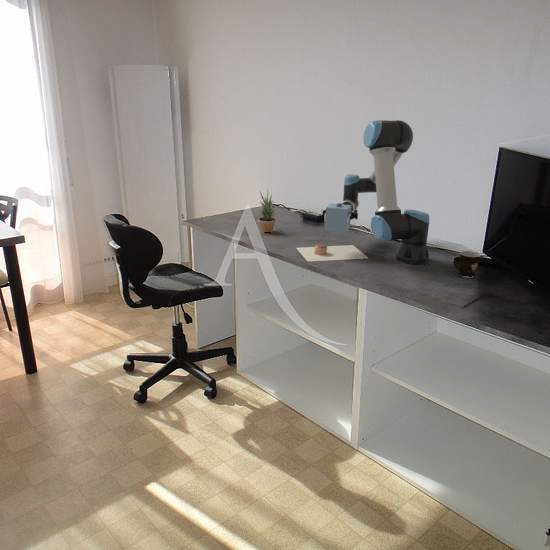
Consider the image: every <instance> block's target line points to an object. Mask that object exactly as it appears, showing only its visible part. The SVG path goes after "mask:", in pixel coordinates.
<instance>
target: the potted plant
mask: <svg viewBox="0 0 550 550" xmlns="http://www.w3.org/2000/svg"><path fill="white" fill-rule="evenodd" d="M266 191H267V193H266V196H263V194H262V192H261V191H259V194H260V196H261V200H262V201H261V200H260V204H261V206H262V208H260V209H258V210H259V212H260V213H261V215H262V217H258V219H257V220H258V223H259V226H260V230H261V233H263V232H271V233H272V232H273V230H274V227H275V224H276V218H275V217H274V215H275V206H276V204H274V205H273V202H274V201H273V200H272V196H273V194H272V193H271V194H270V197H269V188H267V190H266ZM261 209H262V210H261Z"/></svg>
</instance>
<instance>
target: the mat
mask: <svg viewBox="0 0 550 550" xmlns="http://www.w3.org/2000/svg"><path fill="white" fill-rule="evenodd" d="M326 246H327V245H326ZM295 248H296V250H297V251H298V253H300V255H302V257H303V258H304V259H305V260H306V262H323V261H342V260H344V261H345V260H363V259H369V257H368V256H367V255H366V254H365V253H363V252H362V251H361V250H360V249H358V248H357V247H356V246H355V245H353V244H352V245H351V244H350V245H329V246H327V254H326V255H316V254H314V249H315V246H308V247H307V246H304V247H295Z"/></svg>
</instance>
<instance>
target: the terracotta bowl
mask: <svg viewBox="0 0 550 550" xmlns="http://www.w3.org/2000/svg"><path fill="white" fill-rule="evenodd" d="M314 247H315V249H314V254H316V255H326V254H327V245H325V244H316V245H314Z"/></svg>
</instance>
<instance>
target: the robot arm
mask: <svg viewBox="0 0 550 550" xmlns="http://www.w3.org/2000/svg"><path fill="white" fill-rule="evenodd" d="M362 137H363V138H362V139H363V144H364V146H365V147H366V148H368V149H369V153H370V154H371V156H372V157H373V165H374V170H373V171H372V173H371V174H370V176H369V177H362V178H361V177H360V175H358V174H351V173H350V174H346V175H345V177H344V179H343V180H344V181H343V197H342V202H341V204H344V205H352V206H351V214H349V215H348V216H347V222H349V221H350V220H354V219H355V220H358V218H359V213H358V207H359V194H362V193H363V194H364V193H366V194H367V193H376V198H377V199H376V200H377V201H376V202H377V209H376V211H374V216H372V217H371V220H370V229H371V233H372V234H373V235H372V236H374V237H375V239H377V240H378V241H381V242H384V241H385V242H389V241H399V240H400V243H399V246H398V248H397V250H396V253H395V259H396V260H397V261H398V262H400V261H401V263H403V262H405V263H404V264H408V263H413V264H412V265H423V264H422V263H424V264H427V263H428V262H429V260H430V254H429V251H428V245H427V243H428V234H429V227H430V214H429V213H427V212H424V211H421V210H420V211H419V210H416V209H404V211H403V213H402V209H401V208H400V207H398V200H397V186H396V177H395V166H396V165H397V163H398V162H399V160H400V159H401V157H402V156H403V154H405V153H407V152H408V151H409V149H410V148H411V146H412V144H413V139H414V132H413V130H412V127H411V126H410V125H409V124H408V123H407V122H405V121H403V120H382V119H381V120H380V119H379V120H371V121H370V122H368V124H367V125H366V127H365V129H364V131H363V136H362ZM321 215H322V216H321V217H324V219H323V220H324V221H326V209H324V210H322V214H321ZM350 222H351V221H350ZM426 262H427V263H426Z"/></svg>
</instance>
